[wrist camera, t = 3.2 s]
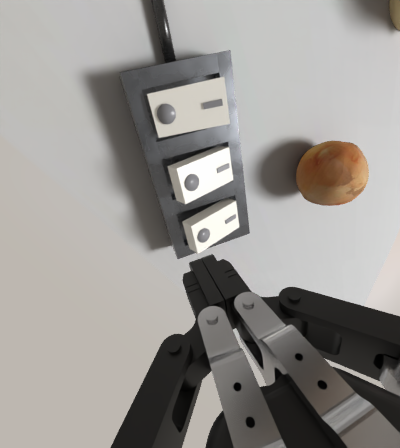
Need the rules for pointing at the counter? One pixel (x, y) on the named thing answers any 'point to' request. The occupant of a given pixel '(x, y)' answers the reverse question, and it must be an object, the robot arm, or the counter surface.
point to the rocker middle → (201, 174)
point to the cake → (395, 12)
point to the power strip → (185, 134)
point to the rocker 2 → (211, 224)
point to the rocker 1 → (190, 107)
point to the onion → (332, 173)
